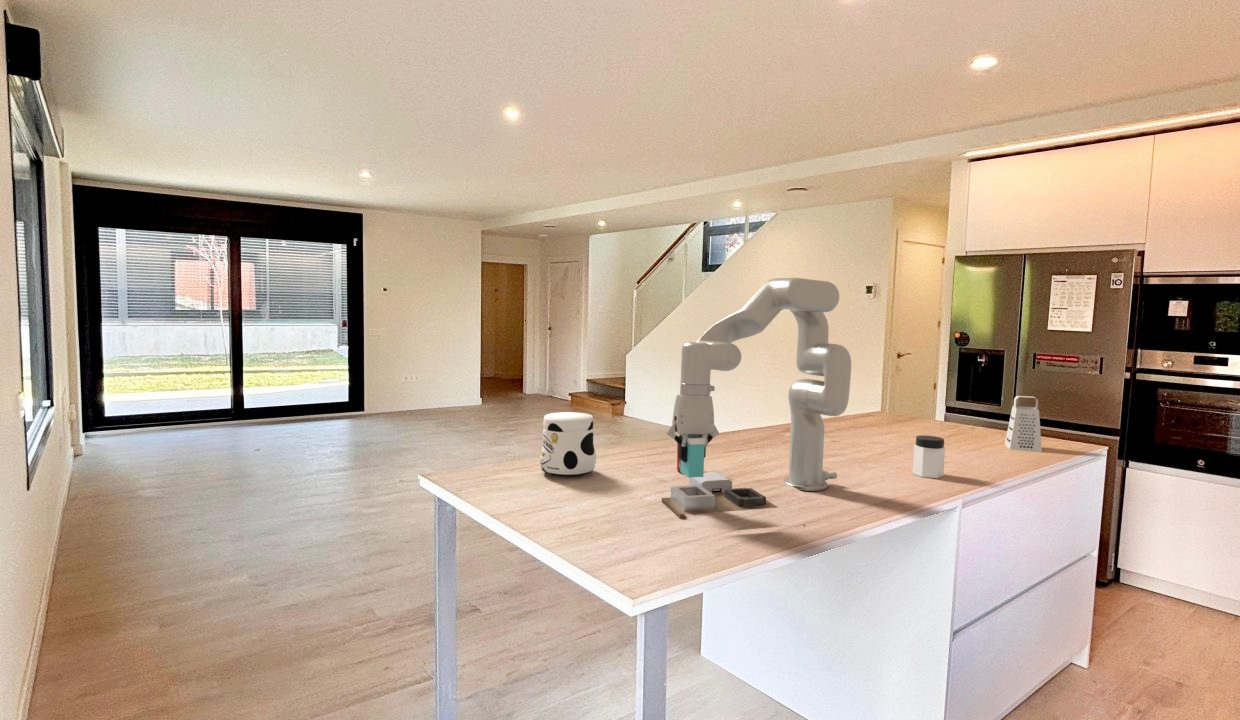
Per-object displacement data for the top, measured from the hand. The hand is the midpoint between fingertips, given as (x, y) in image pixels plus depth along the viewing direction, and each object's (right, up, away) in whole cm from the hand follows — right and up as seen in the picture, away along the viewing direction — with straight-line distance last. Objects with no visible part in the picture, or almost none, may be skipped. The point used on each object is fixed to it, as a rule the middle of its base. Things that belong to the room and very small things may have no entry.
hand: (692, 460), depth 167 cm
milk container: (-35, -10, +34) cm, 50 cm away
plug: (0, -4, 0) cm, 4 cm away
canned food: (+3, -10, +38) cm, 40 cm away
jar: (+80, -11, +40) cm, 90 cm away
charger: (+6, -12, +19) cm, 24 cm away
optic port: (0, -13, +1) cm, 13 cm away
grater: (+137, -8, +83) cm, 161 cm away
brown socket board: (+7, -13, +3) cm, 15 cm away
